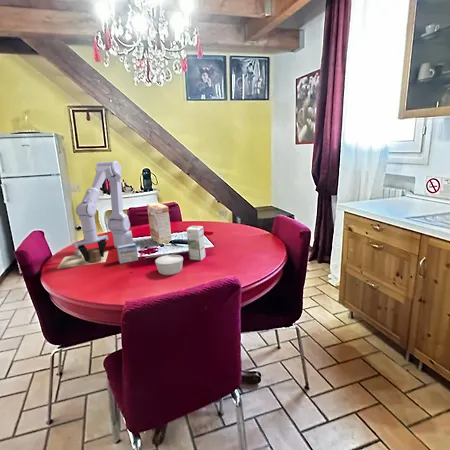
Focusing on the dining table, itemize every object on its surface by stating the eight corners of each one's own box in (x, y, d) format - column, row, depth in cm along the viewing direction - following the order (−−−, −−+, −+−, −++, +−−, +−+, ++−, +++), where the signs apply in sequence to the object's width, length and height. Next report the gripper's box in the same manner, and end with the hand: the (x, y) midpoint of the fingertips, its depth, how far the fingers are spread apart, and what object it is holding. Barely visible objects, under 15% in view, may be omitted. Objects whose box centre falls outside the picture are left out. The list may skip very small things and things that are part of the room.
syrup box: (206, 256, 152) (203, 225, 148) (200, 261, 147) (198, 229, 143) (194, 255, 154) (191, 225, 150) (189, 260, 148) (186, 228, 145)
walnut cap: (101, 257, 155) (100, 247, 153) (100, 261, 149) (98, 251, 148) (89, 259, 153) (87, 249, 152) (87, 263, 148) (85, 252, 147)
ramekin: (187, 266, 142) (186, 254, 141) (178, 277, 131) (177, 264, 130) (163, 265, 145) (161, 254, 143) (152, 276, 134) (150, 263, 133)
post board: (109, 253, 164) (107, 244, 163) (106, 265, 149) (104, 254, 148) (65, 259, 160) (63, 249, 158) (57, 271, 145) (55, 261, 143)
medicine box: (121, 267, 146) (118, 248, 144) (119, 264, 150) (116, 245, 147) (139, 263, 149) (136, 244, 147) (136, 260, 153) (134, 242, 151)
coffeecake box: (150, 238, 185) (146, 204, 180) (163, 236, 188) (159, 202, 183) (159, 245, 172) (155, 208, 167) (172, 242, 175) (168, 206, 170)
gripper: (101, 224, 155) (106, 252, 159) (69, 232, 146) (74, 261, 149) (108, 227, 150) (112, 255, 154) (75, 234, 141) (80, 265, 144)
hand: (94, 258), depth 151 cm, fingers open, 6 cm apart
